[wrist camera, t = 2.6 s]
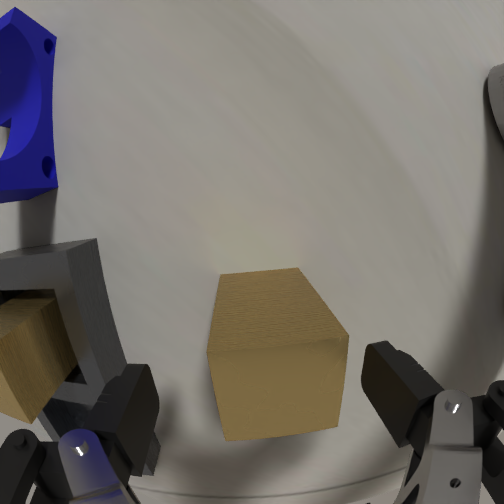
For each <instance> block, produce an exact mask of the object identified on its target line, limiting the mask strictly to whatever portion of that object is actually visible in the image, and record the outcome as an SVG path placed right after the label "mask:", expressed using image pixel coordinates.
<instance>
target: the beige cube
mask: <svg viewBox="0 0 504 504" xmlns="http://www.w3.org/2000/svg"><path fill="white" fill-rule="evenodd" d="M77 364H78V361H77V359H76V356H75V353H74V351H73V348H72V345H71V343H70V340H69V337H68V334H67V331H66V328H65V325H64V322H63V318H62V315H61V312H60V308H59V305H58V301H57V297H56V294H55V290H54V289H28V290H26V291H24V292H22V293H21V294H19V295H17V296H16V297H14V298H12V299H11V300H9V301H7V302H6V303H4V304H2V305H1V306H0V412H1V413H4V414H6V415H8V416H11V417H13V418H16V419H18V420H21V421H24V422H26V423H29V424H32V423H33V421H34V420H35V419H36V417H37V416H38V414H39V413H40V412H41V410H42V409H43V408H44V406H45V405H46V404H47V402H48V401H49V400H50V398H51V397H52V396H53V394H54V393H55V392H56V390H57V389H58V388H59V386H60V385H61V384H62V383H63V381H64V380H65V379H66V377H67V376H68V375H69V374H70V372H71V371H72V370H73V369H74V367H75V366H76V365H77Z"/></svg>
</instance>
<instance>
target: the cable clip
mask: <svg viewBox="0 0 504 504" xmlns="http://www.w3.org/2000/svg"><path fill="white" fill-rule="evenodd" d="M56 39H57V37H56V36H54V35H53V34H52V33H50V32H49V31H48V30H46V29H45V28H44V27H42V26H41V25H40V24H38V23H37V22H36V21H34V20H33V19H31V18H30V17H29V16H27V15H26V14H25V13H23V12H22V11H20V10H19V9H18V8H16V7H14V8H13V9H11V10H10V11H9V12H7V13H6V14H5V15H4V16H2V17H1V18H0V126H3V127H8V128H11V129H10V135H9V139H8V142H7V145H6V148H5V150H4V152H3V155H2V156H1V158H0V203H6V202H14V201H22V200H29V199H31V198H33V197H36V196H38V195H40V194H43V193H45V192H47V191H50V190H52V189H55V188H57V187H58V181H57V174H56V165H55V155H54V142H53V121H52V89H53V69H54V57H55V47H56Z"/></svg>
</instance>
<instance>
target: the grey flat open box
mask: <svg viewBox="0 0 504 504" xmlns="http://www.w3.org/2000/svg"><path fill="white" fill-rule="evenodd" d="M28 289H54V290H55V294H56V297H57V301H58V305H59V308H60V312H61V315H62V318H63V322H64V325H65V328H66V331H67V334H68V337H69V340H70V343H71V345H72V348H73V351H74V353H75V356H76V359H77V361H78V364H77V365H76V366H75V367H74V369H73V370H72V371H71V372H70V374H69V375H68V376H67V377H66V379H65V380H64V381H63V383H62V384H61V385H60V386H59V388H58V389H57V390H56V392H55V393H54V394H53V396H52V397H51V398H50V400H49V401H48V402H47V404H46V405H45V406H44V408H43V409H42V410H41V412H40V413H39V414H38V416H37V417H38V419H39V421H40V422H41V424H42V425H43V427H44V428H45V430H46V431H47V433H48V434H49V436H50V437H51V439H52V440H53V442H59V441H60V439H61V437H62V436H63V435H64V434H66V433H67V432H69V431H71V430H75V429H82V427H83V425H84V423H85V421H86V419H87V417H88V416H89V414H90V412H91V410H92V408H93V406H94V405H95V403H96V402H97V399H98V397H99V396H100V395H101V392H102V390H103V388H104V387H105V385H106V383H108V382H109V381H110V380H111V379H113V378H114V377H115V376H121V374H122V372H123V370H124V369H125V367H126V365H127V363H126V360H125V357H124V354H123V350H122V347H121V344H120V341H119V337H118V334H117V330H116V327H115V323H114V320H113V316H112V312H111V308H110V304H109V300H108V296H107V291H106V287H105V282H104V277H103V272H102V267H101V262H100V257H99V251H98V245H97V238H95V239H87V240H80V241H72V242H65V243H58V244H51V245H45V246H38V247H31V248H25V249H19V250H12V251H6V252H4V253H1V254H0V306H1V305H2V304H4V303H6V302H7V301H9V300H11V299H12V298H14V297H16V296H17V295H19V294H21V293H22V292H24V291H26V290H28ZM160 447H161V446H160V444H159V442H158V440H157V438H156V435H155V433H154V431H153V434H152V438H151V442H150V446H149V450H148V453H147V457H146V461H145V465H144V469H143V473H142V474H143V475H150V476H154V472H155V467H156V463H157V459H158V455H159V451H160Z"/></svg>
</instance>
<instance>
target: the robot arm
mask: <svg viewBox="0 0 504 504" xmlns="http://www.w3.org/2000/svg"><path fill="white" fill-rule="evenodd" d="M488 92H489V97H490V103H491V107H492V111H493V114H494V117H495V120H496V123H497V126H498V128H499V131H500V133H501V136H502V138H503V140H504V64H501V65H498V66H495V67H493V68H492V69H491V70H490V72H489V76H488ZM361 384H362V388H363V391H364V393H365V394H366V396H367V397H368V399H369V401H370V402H371V404H372V405H373V407H374V408H375V410H376V412H377V413H378V415H379V416H380V418H381V420H382V421H383V423H384V424H385V426H386V428H387V429H388V431H389V433H390V434H391V436H392V437H393V439H394V441H395V442H396V444H397V446H398V447H399V448H401V447H403V446H406V445H408V444H411V445H412V447H413V448H412V450H411V453H410V456H409V460H408V464H407V468H406V471H405V475H404V478H403V482H402V485H401V488H400V491H399V493H398V496H397V498H396V500H395V502H394V503H393V504H479V498H480V489H481V481H482V483H483V484H484V486H485V488H486V489H487V491H488V492H489V494H490V496H491V497H492V499H493V500H494V502H495V504H504V445H503V444H502V442H501V441H500V440H499V439H498V437H497V436H498V434H499V432H500V431H501V429H503V430H504V380H499V381H495V382H493V383H492V384H491V385H490V386H489V389H488V391H487V393H486V395H482V396H477V397H472V398H470V397H469V396H468V395H467V394H466V393H464V392H462V391H459V390H454V389H449V390H444V389H443V388H442V387H441V386H440V385H439V384H438V383H437V382H436V381H435V380H434V378H433V377H432V376H431V375H430V374H429V373H428V372H427V371H426V370H424V368H423V367H422V366H421V365H420V364H418V362H417V361H416V360H415V359H414V358H413V357H412V356H411V355H409V354H407V353H405V352H403V351H401V350H396V349H395V348H394V347H393V346H392V345H391V344H390V343H389V342H388V341H381V342H377V343H372V344H368V345H367V347H366V350H365V356H364V363H363V369H362V375H361ZM158 413H159V396H158V393H157V390H156V387H155V383H154V380H153V377H152V373H151V370H150V367H149V365H147V364H127V365H126V367H125V369H124V370H123V372H122V374H121V376H115V377H114V378H113V379H111V380H110V381H109V382H108V383H106V385H105V387H104V388H103V390H102V392H101V395H100V396H99V397H98V399H97V402H96V403H95V405H94V406H93V408H92V410H91V412H90V414H89V416H88V417H87V419H86V421H85V423H84V425H83V427H82V429H75V430H71V431H69V432H67V433H66V434H64V435H63V436H62V437H61V439H60V441H59V442H40V441H39V440H38V438H37V437H36V435H35V434H34V433H33V432H32V431H30V430H27V429H19V430H16V431H14V432H12V433H10V435H8V437H7V438H6V439H5V441H4V443H3V444H2V446H1V448H0V504H25V502H26V499H27V496H28V494H29V492H30V489H31V487H32V484H33V483H34V484H35V485H36V486H37V487H36V489H35V492H34V494H33V497H32V499H31V502H30V504H141V502H140V501H139V499H138V498H137V496H136V495H135V493H134V491H133V490H132V488H131V486H130V485H129V484H128V481H129V478H130V475H133V476H139V477H142V473H143V469H144V465H145V461H146V457H147V453H148V450H149V446H150V442H151V438H152V434H153V431H154V427H155V423H156V420H157V416H158ZM367 504H370V503H367Z"/></svg>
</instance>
